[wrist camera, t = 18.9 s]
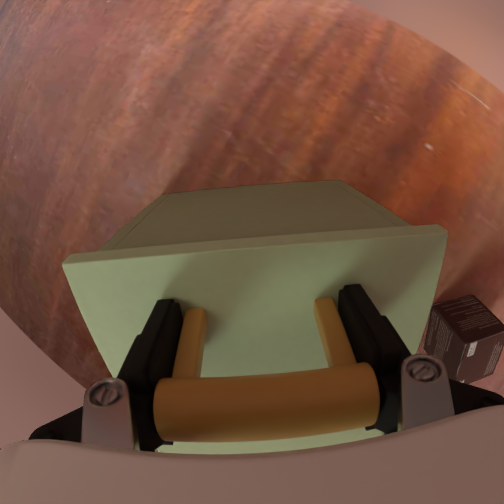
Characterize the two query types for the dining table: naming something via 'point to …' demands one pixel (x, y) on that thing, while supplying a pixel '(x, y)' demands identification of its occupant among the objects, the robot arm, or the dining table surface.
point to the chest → (252, 214)
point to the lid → (261, 330)
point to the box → (465, 338)
